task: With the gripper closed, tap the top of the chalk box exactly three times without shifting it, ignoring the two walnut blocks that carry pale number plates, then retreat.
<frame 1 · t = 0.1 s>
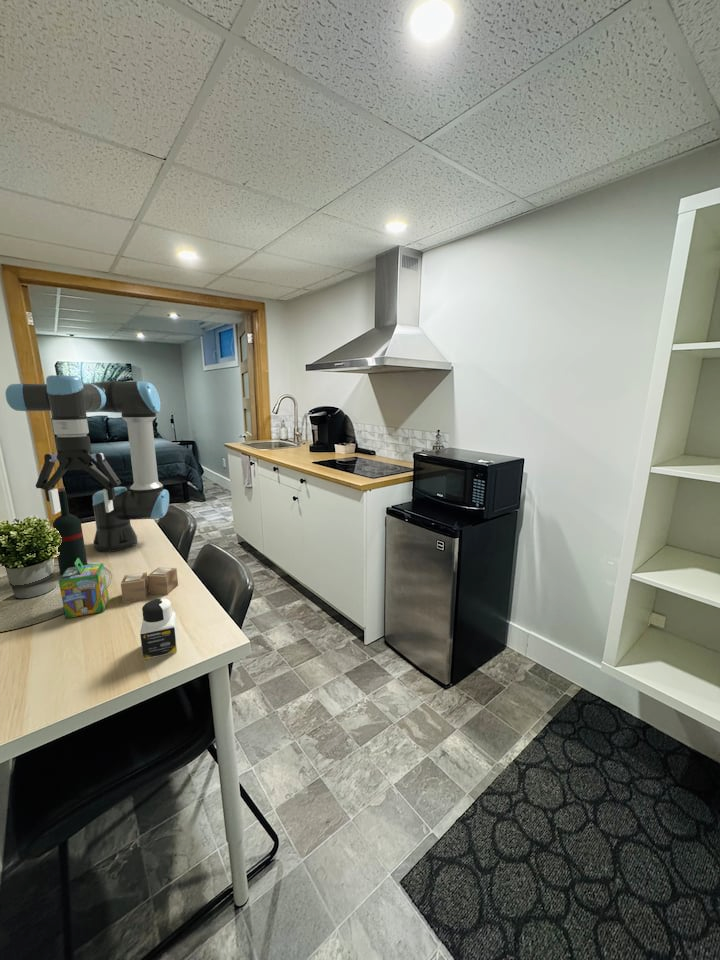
hand: (83, 512, 108), 28 cm above the table, fingers open, 13 cm apart
wine bottle: (74, 571, 135), on the table
medicine bottle: (161, 648, 94), on the table
chalk box: (88, 608, 112), on the table
walnut block B: (163, 589, 123), on the table
walnut block A: (136, 596, 118), on the table
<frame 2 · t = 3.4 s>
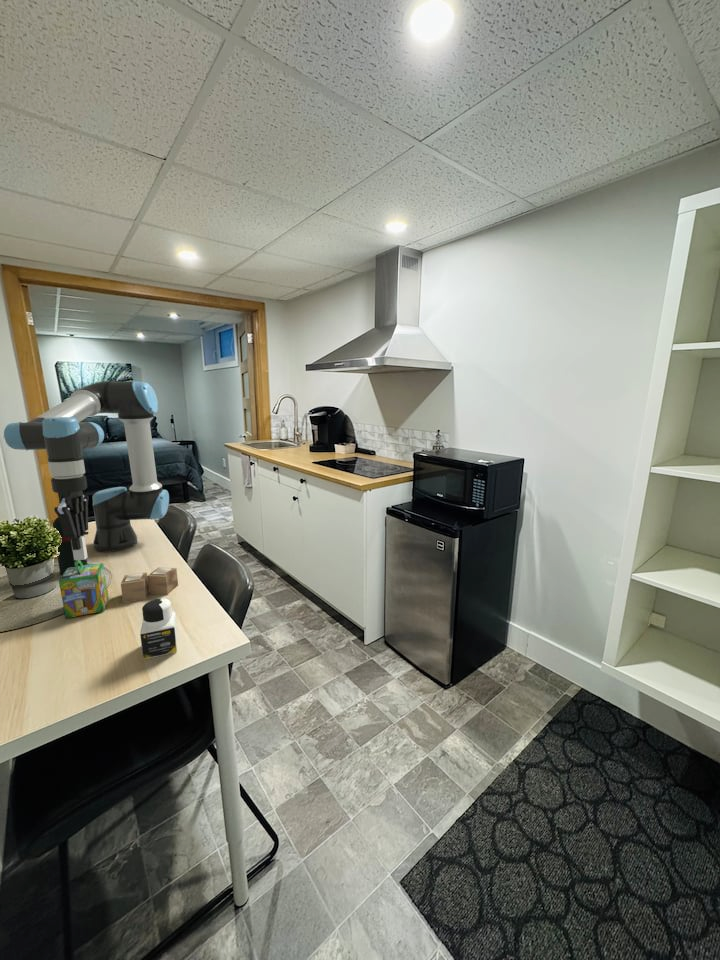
hand: (80, 558, 108), 15 cm above the table, fingers closed
chalk box: (88, 608, 112), on the table, touching gripper
everything else where it was.
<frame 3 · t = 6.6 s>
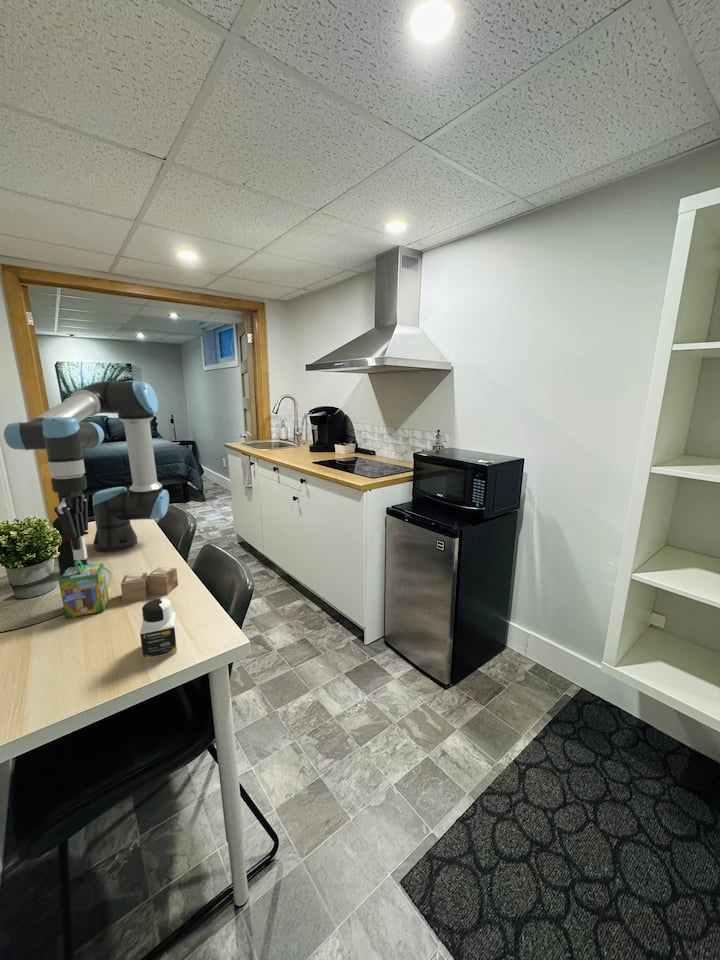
hand: (80, 558, 108), 15 cm above the table, fingers closed
nothing on the table moved.
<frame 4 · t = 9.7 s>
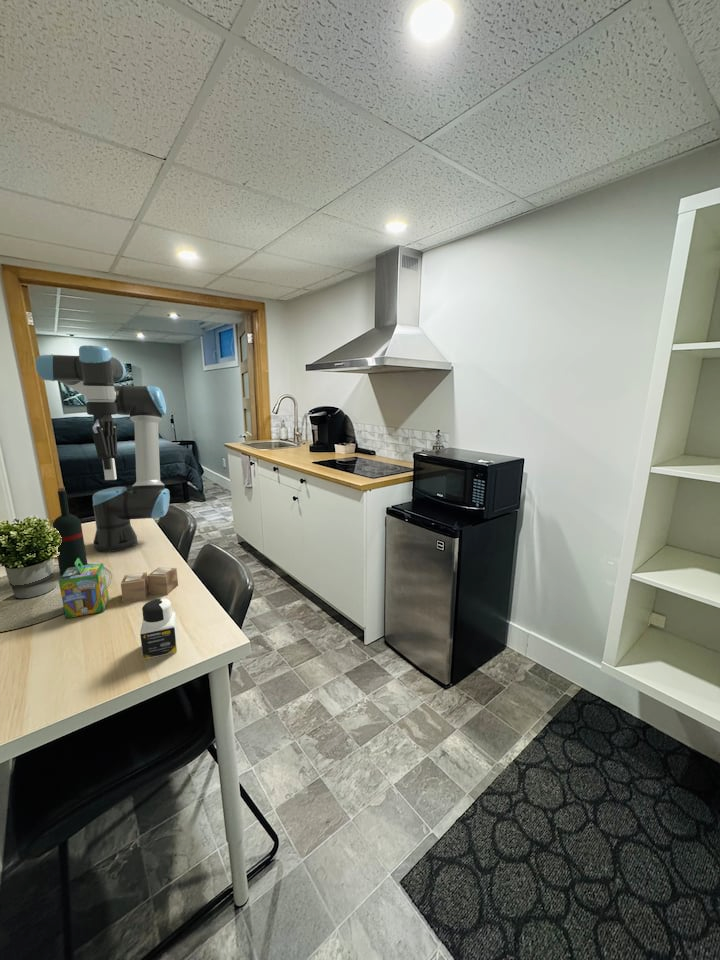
hand: (110, 479, 119), 34 cm above the table, fingers closed
chalk box: (88, 608, 112), on the table
everything else where it was.
at the end: chalk box moved 0.3 cm from its start; chalk box tilted 0°; walnut block A moved 0.1 cm from its start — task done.
